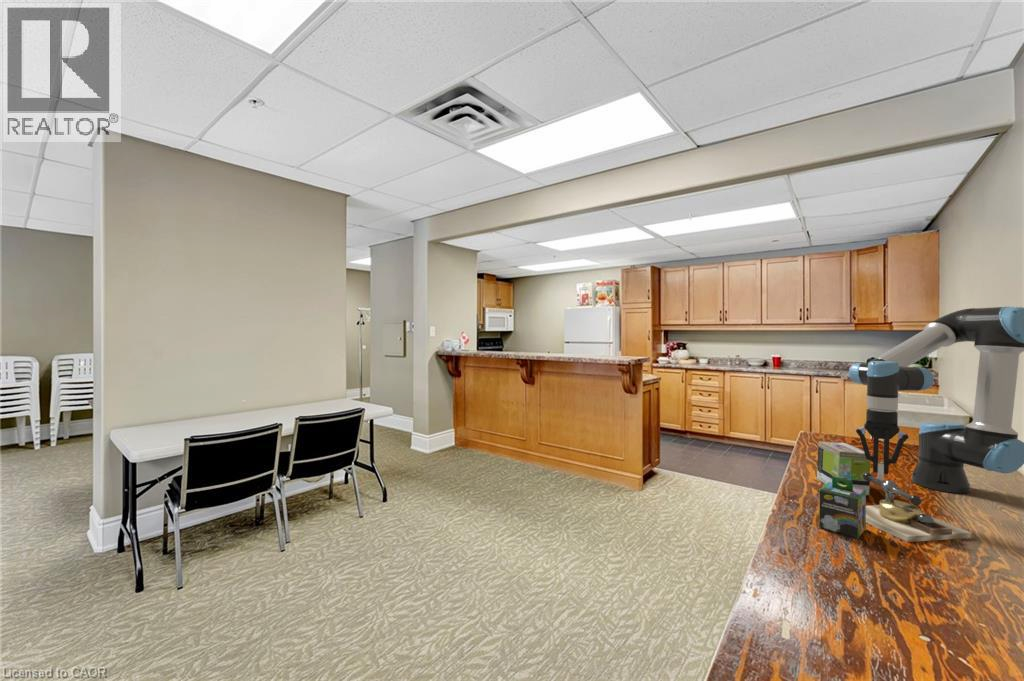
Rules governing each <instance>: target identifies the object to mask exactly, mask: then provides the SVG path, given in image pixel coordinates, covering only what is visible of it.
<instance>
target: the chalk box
mask: <svg viewBox="0 0 1024 681" xmlns="http://www.w3.org/2000/svg"><path fill="white" fill-rule="evenodd" d="M839 481H842V482H844V483H846V484H847V486H846V485H841V484H838V482H839ZM818 493H819V494H818V495H819V497H818V498H819V500H818V502H819V504H818V506H819V509H818V510H819V511H818V515H819V518H818V519H819V520H818V521H819V522H818V523H819V526H818V527H819V529H824V530H828V531H831V532H834V533H838V534H839V535H844V536H846V537H850V538H853V539H856V540H857V539H859V538H860V537H861V536H862V534H864V532H865V530H866V529H867V523H866V506H867V500H866V499H867V497H866V496H867V495H866V490H865V489H860V488H856V487H853V483H852V481H851V480H848V479H843V478H839V477H832V483H831V482H828V483H827V484H825V483H824V484H823V486H822V487H821V488H820V489H819V492H818Z"/></svg>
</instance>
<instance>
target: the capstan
mask: <svg viewBox="0 0 1024 681" xmlns="http://www.w3.org/2000/svg"><path fill="white" fill-rule="evenodd" d="M863 478H864V479H865V480H866V481H870V482H871V483H873V484H876V485H878V486H879V487H881V491H882V492H883V493H884V494H885V497H884V499H880V500H879V504H878V505H879V514H880V515H882V516H883V517H885V518H888V519H890V520H893V521H897V522H901V523H907V524H911V521H916V522H918V521H917V516H918V515H919V514H921V513H922V510H921V508H920V507H918V506H920V505H921V504H922V498H921V497H919V496H918V495H911V494H910V493H907V492H905V491H903V490H901V488H900V489H899V484H897V483H895V481H894V480H890V479H886V480H885V481H881V480H879V479H877V477H875V476H874V475H873V474H872V473H871V472H870V473H864V474H863ZM895 495H898V496H900V497H901V498H903V499H906V500H908V501H909V502H910V503H909V502H905V501H900V500H895Z"/></svg>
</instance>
